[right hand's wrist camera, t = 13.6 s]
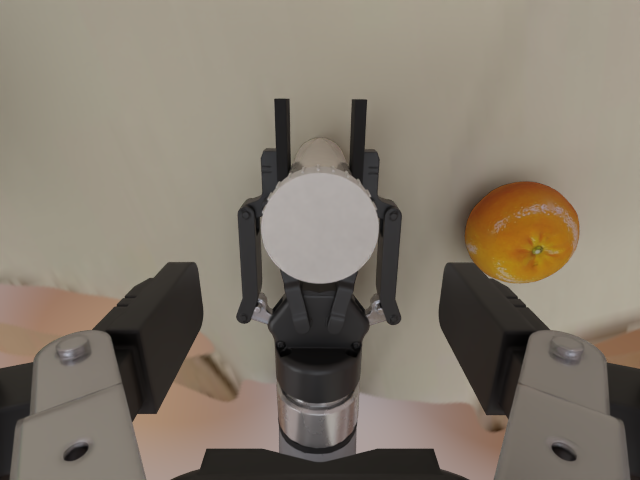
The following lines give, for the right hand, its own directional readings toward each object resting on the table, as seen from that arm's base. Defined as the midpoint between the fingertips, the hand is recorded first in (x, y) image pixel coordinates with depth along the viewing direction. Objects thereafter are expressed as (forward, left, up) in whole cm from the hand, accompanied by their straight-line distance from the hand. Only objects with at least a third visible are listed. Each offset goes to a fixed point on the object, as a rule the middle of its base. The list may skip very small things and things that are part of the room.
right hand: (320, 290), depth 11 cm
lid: (0, 0, -6) cm, 6 cm away
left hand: (-1, -5, -17) cm, 18 cm away
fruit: (-15, +10, -23) cm, 29 cm away
